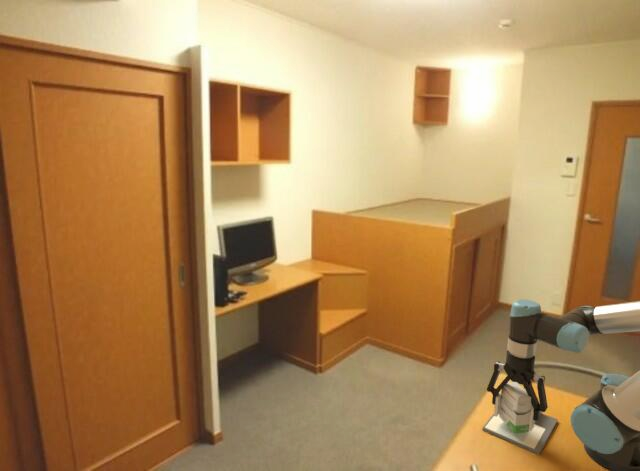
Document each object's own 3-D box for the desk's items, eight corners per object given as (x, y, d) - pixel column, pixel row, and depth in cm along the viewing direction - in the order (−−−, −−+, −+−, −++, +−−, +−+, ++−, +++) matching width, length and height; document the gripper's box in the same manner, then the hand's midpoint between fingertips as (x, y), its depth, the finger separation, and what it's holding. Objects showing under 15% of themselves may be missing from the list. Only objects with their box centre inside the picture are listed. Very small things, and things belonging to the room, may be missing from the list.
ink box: (529, 432, 125) (534, 396, 122) (514, 434, 124) (518, 398, 122) (512, 415, 133) (516, 380, 131) (497, 416, 132) (501, 381, 130)
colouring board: (557, 421, 134) (558, 412, 133) (539, 455, 119) (540, 444, 119) (505, 401, 144) (506, 393, 144) (482, 430, 130) (483, 420, 129)
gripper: (566, 360, 119) (557, 431, 124) (488, 337, 134) (482, 401, 138) (559, 370, 114) (550, 444, 118) (478, 345, 128) (473, 412, 133)
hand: (513, 421), depth 128 cm, fingers closed on ink box, 9 cm apart
